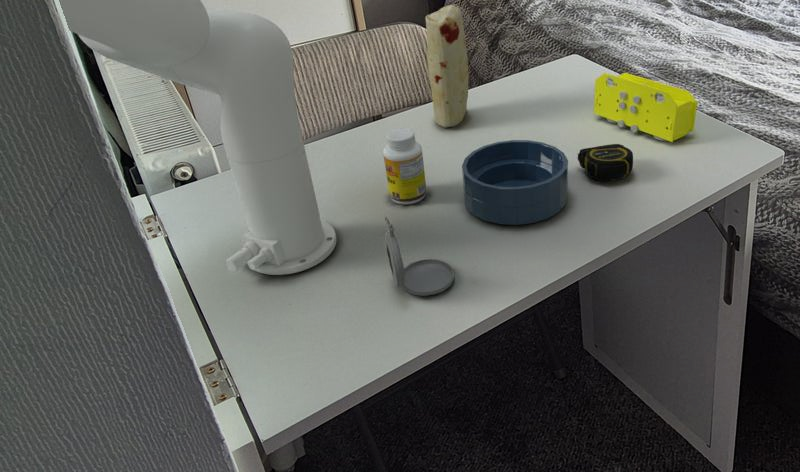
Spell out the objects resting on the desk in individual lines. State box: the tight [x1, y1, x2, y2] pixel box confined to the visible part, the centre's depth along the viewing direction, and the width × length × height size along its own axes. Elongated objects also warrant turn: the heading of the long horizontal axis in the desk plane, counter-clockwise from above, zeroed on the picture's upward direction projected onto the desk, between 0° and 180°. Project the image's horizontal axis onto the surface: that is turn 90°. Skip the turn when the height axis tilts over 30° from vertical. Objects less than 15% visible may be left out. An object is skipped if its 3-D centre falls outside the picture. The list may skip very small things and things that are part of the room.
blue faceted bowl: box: [461, 139, 569, 226], centre depth 91 cm, size 14×14×6 cm
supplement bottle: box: [382, 128, 427, 206], centre depth 94 cm, size 6×6×10 cm
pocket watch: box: [384, 216, 455, 296], centre depth 77 cm, size 8×8×10 cm
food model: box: [425, 4, 469, 129], centre depth 113 cm, size 10×7×20 cm
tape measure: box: [577, 143, 634, 181], centre depth 95 cm, size 7×7×4 cm
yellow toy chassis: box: [593, 72, 698, 143], centre depth 105 cm, size 16×6×8 cm, turn 32°
